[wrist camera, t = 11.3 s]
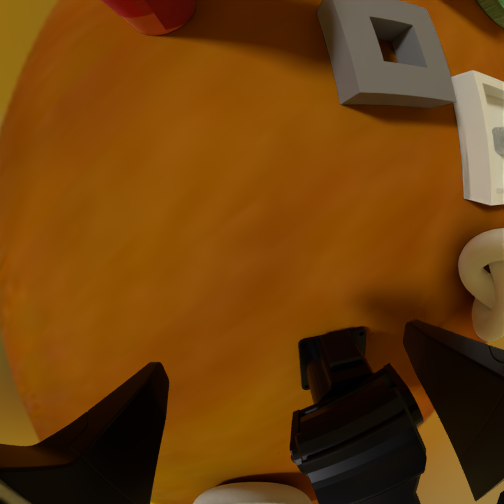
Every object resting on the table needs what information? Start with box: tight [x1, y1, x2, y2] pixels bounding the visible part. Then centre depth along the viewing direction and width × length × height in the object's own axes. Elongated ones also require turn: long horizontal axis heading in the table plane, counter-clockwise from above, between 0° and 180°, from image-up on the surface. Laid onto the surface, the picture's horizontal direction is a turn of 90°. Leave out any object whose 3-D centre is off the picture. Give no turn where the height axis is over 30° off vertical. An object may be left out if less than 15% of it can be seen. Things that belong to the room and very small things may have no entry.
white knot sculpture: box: [458, 228, 504, 342], centre depth 18 cm, size 11×12×9 cm
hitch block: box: [317, 0, 457, 108], centre depth 15 cm, size 9×9×4 cm
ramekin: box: [477, 0, 504, 27], centre depth 9 cm, size 9×9×4 cm
